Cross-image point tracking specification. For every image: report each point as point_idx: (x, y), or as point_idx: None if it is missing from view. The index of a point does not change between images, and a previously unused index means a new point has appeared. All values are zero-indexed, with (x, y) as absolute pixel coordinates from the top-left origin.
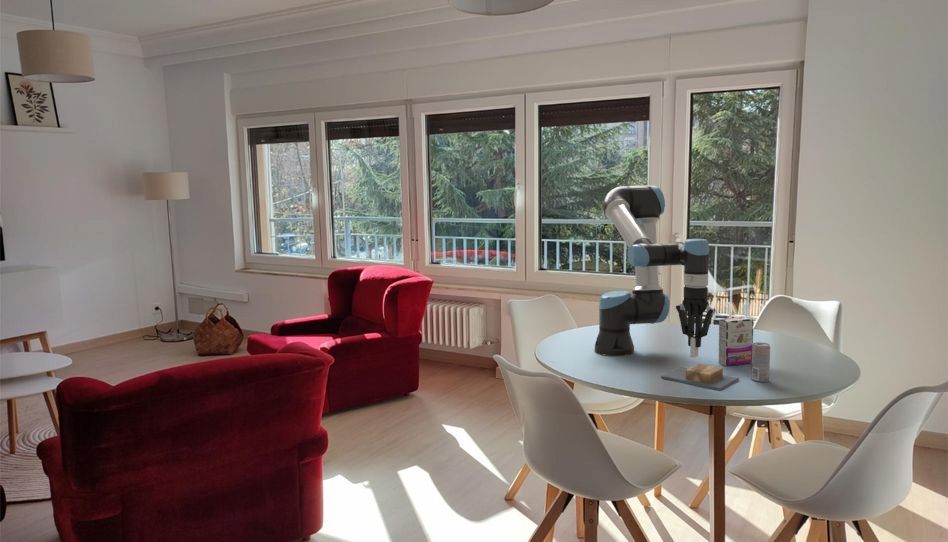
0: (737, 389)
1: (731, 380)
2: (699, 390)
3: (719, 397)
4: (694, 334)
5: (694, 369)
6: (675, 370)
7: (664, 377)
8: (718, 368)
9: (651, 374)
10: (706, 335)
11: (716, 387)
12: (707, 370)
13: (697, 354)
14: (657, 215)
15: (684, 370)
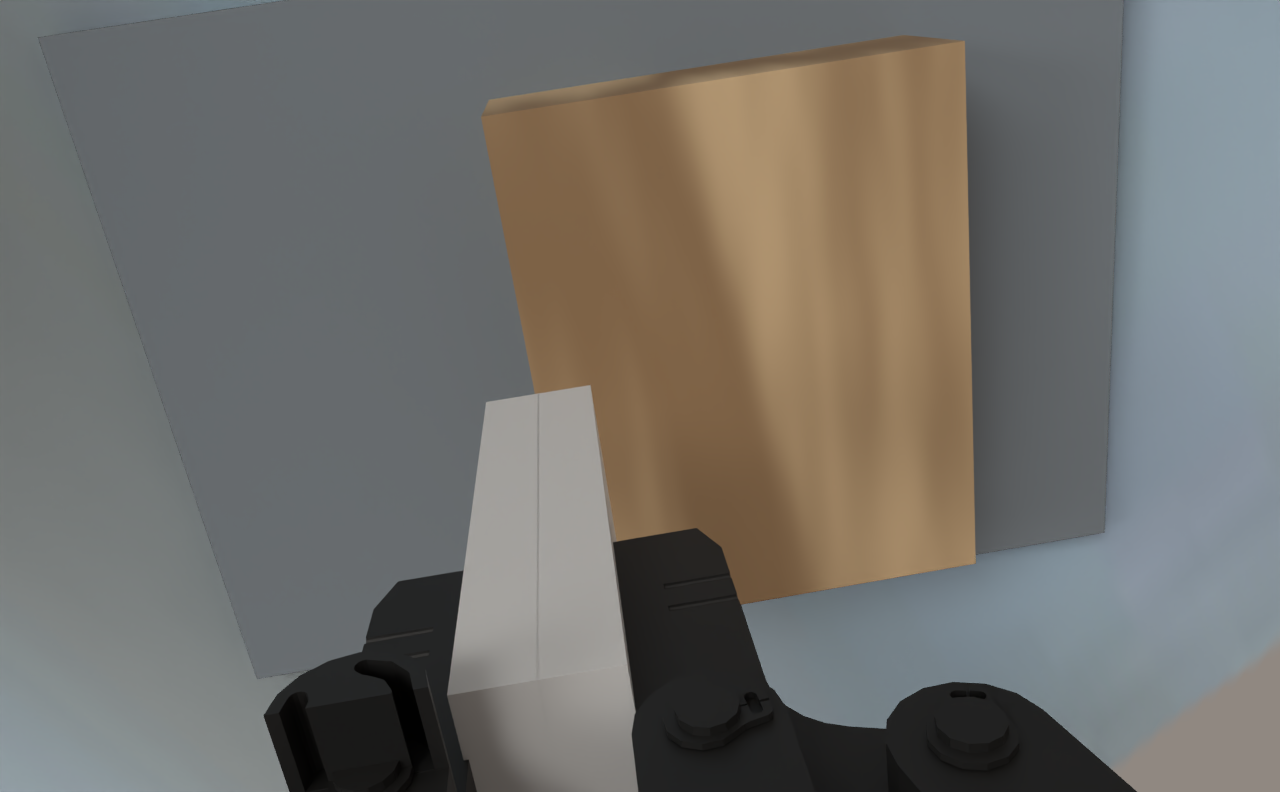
0: (1240, 313)
1: (1089, 108)
2: (898, 683)
3: (1173, 707)
4: (443, 744)
5: (652, 507)
6: (163, 316)
7: (308, 661)
8: (913, 132)
9: (44, 631)
10: (999, 691)
11: (1053, 540)
12: (834, 395)
13: (598, 437)
14: None
15: (250, 197)
